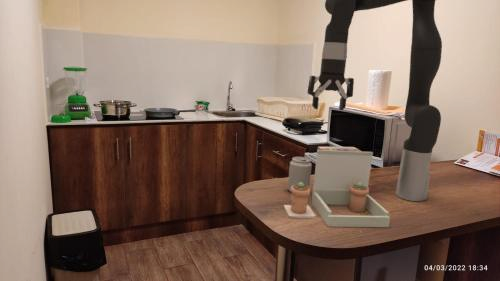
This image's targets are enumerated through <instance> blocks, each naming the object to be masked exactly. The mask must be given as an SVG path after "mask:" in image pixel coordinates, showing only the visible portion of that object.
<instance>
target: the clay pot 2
mask: <svg viewBox="0 0 500 281" xmlns="http://www.w3.org/2000/svg"><path fill="white" fill-rule="evenodd" d="M350 192H351V196H350V204H349V205H348V206H349V207H348V209H349V210H350V211H352V212H354V213H364V212H365V211H366V208H365V204H366V197H367V195H369V192H370V188H369V186H368V187H366V186H363V184H362V183H361V182H359V183H357V185H351V186H350Z"/></svg>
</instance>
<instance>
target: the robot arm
mask: <svg viewBox="0 0 500 281" xmlns="http://www.w3.org/2000/svg"><path fill="white" fill-rule="evenodd" d="M405 1H408V0H325V2H324V8H325V10H326V12H327V13H328V14H330V15H331V16H330V22H329V23H328V24H327V25H326V27H325V32H324V33H325V34H324V43H323V46H322V47H323V48H322V53H321V60H320V61H321V62H320V64H321V65H320V74H319V76H315V75H310V76H309V79H308V80H309V81H308V87H307V94H308V95H310V96H312V102H311V106H312V107H313V109H314V110H318V109H319V108H318V107H319V100H320V97H319V96H320V95H321V94H322V93H323V92H324V91H328V92H329V91H334V92H337V93H338V94H339V96H340V97H339V107H338V109H339V111H344V109H346V106H347V105H346V104H347V100H348V98H351V97H352V98H353V96H354V84H355V83H354V82H355V81H354V80H355V79H354V78H352V77H348V78H345V74H346V64H347V63H346V62H347V58H348V40H349V30H350V27H351V24H352V20H353V17H354V14H355V12H358V11H368V10H373V9H374V10H375V9H379V8H383V7H388V6H391V5H394V4H399V3H402V2H405ZM411 1H412V30H411V32H412V33H411V46H410V59H409V75H408V76H409V78H408V79H409V80H408V81H409V82H408V90H407V91H408V92H407V98H406V104H405V110H404V121H405V123H406V125H407V126H408V127H410V128H411V130H410V133H409V134H410V135H409V137H408V138H406V139H405V140H404V141H403V144H402V145H403V147H402V152H401V153H402V154H401V159H400V163H399V164H400V167H399V171H398V178H397V183H396V184H397V185H396V190H395V195H396V196H397V197H398V198H400V199H403V200H406V201H409V202H410V201H412V202H422V201H426V200H427V196H428V192H429V187H430V180H431V176H432V175H431V173H430V172H429V170H430V166H431V165H430V164H431V161H432V160H431V159H432V153H433V149H434V147H435V146H436V144H437V140H438V137H439V131H440V128H441V122H442V115H441V112H440V110H439V109H438V108H437V107H436V106H434V105H431V104H430V97H431V96H430V94H431V89H432V86H433V85H432V84H433V81H434V79H435V78H436V77H437V74H438V71H439V69H440V66H441V61H442V51H443V50H442V48H443V42H442V41H443V40H442V37H441V34H440V33H439V32H440V31H439V30H438V27H437V24H436V21H435V6H436V0H411ZM317 82H319V86H318V87H317V88H316V89H315V85H316V83H317ZM344 83H345V85H346V92H345V89H344V88H343V85H344ZM314 90H315V91H314Z"/></svg>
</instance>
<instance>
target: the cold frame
mask: <svg viewBox="0 0 500 281" xmlns="http://www.w3.org/2000/svg"><path fill="white" fill-rule="evenodd" d="M373 155H374V152H373V151H362V152H360V151H332V150H316V158H315V170H314V178H313V188H312V196H311V204H312V206H313V207H314V208H315V210H316V212H318V215H319V216H320V217H321V219H322V220H323V221H324V223H325V224H326V226H327V227H329V228H331V227H336V228H341V227H344V228H346V227H347V228H389V227H390V224H391V223H390V220H391V217H390V212H389V211H388V210H387V209H385V207H383V206H382V205H381V204H380V203H379V202H378V201H377V200H375V199H374V198H373V197H372V196H371V195H369V194H368V195H367V197H366V204H365V210H367V211H368V212H370V215H347V214H346V215H345V214H343V215H342V214H341V215H340V214H339V215H338V214H336V215H334V214H333V213H332V212H333V211H332V210H331V208H330V207H329V206H328V205H334V206H335V205H338V206H341V205H343V206H349V204H350V196H351V192H350V186H351V185H357V183H359V182H361V183H362V184H363V186H366V187H368V188H369V182H370V176H371V171H372V170H371V168H372V161H373Z"/></svg>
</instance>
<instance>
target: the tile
mask: <svg viewBox="0 0 500 281" xmlns="http://www.w3.org/2000/svg"><path fill="white" fill-rule="evenodd" d="M283 209H284V211H285V212H286V215H287V217H288V218H289V219H293V218H294V219H316V218H317V217H316V216H317V215H316V214H315V212H313V209H312V208H311V207H310V206H309V205H308V204H307V210H306V213H303V214H297V213H294V212H292V211H291V204H290V205H289V204H283Z"/></svg>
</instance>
